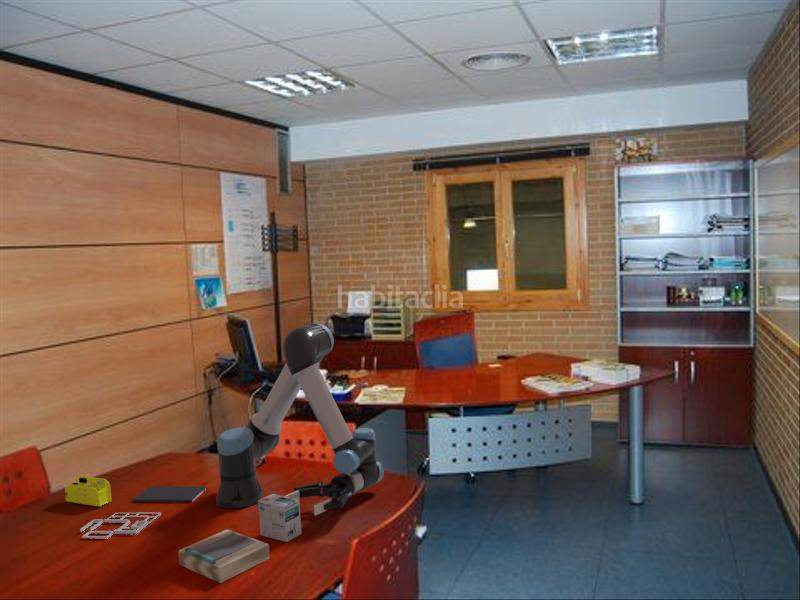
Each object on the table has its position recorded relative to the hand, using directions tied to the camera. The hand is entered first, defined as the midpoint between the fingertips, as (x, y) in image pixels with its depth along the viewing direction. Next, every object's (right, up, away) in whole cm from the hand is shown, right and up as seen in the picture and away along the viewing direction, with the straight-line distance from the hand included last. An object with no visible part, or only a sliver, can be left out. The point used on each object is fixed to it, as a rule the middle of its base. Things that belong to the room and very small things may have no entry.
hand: (298, 506), depth 203 cm
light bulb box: (-4, -7, -4) cm, 10 cm away
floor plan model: (-57, -10, +5) cm, 58 cm away
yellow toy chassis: (-76, -8, +29) cm, 82 cm away
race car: (-27, -3, +60) cm, 66 cm away
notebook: (-49, -7, +33) cm, 59 cm away
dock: (-17, -9, -20) cm, 28 cm away
